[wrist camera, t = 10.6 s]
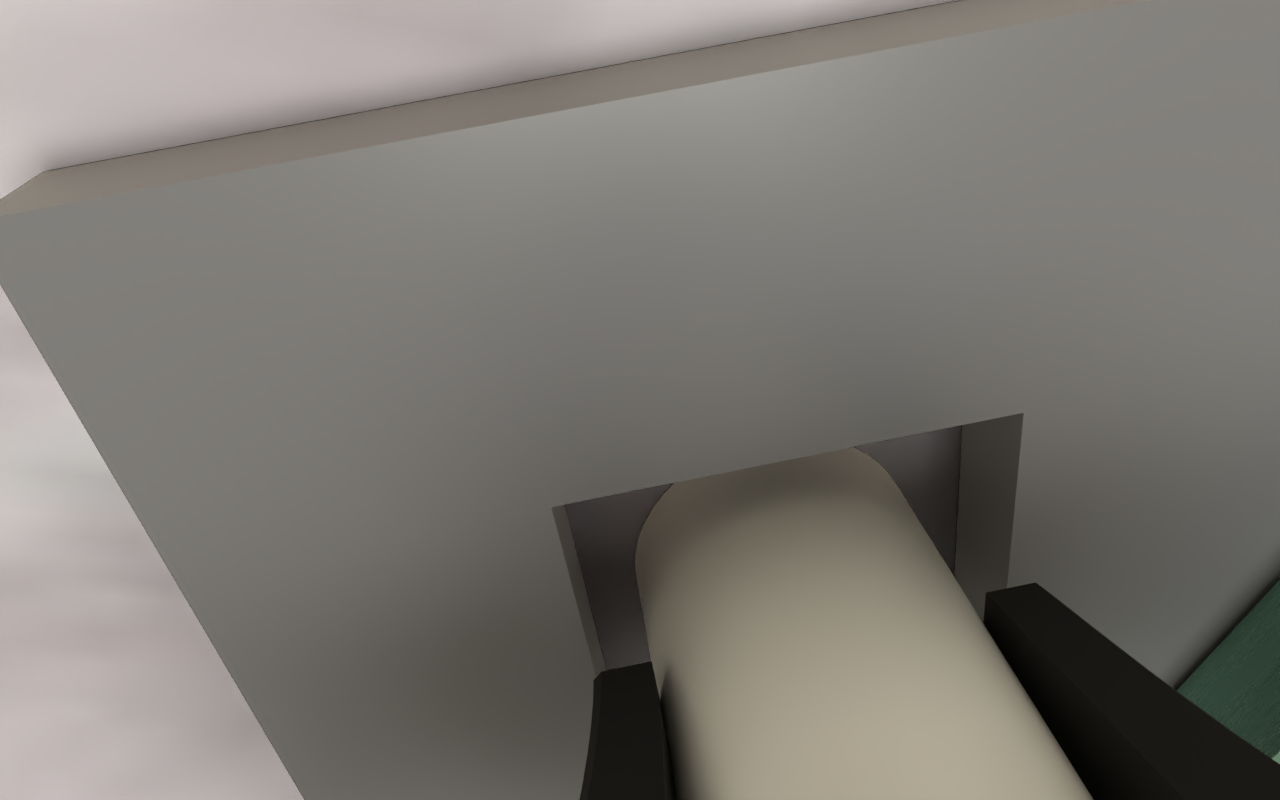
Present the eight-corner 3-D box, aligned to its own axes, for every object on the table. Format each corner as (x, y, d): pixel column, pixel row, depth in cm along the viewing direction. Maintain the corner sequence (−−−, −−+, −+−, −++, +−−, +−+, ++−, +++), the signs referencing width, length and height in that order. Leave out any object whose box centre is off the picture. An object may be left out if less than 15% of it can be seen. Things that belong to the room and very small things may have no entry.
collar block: (1161, 755, 17) (1215, 829, 15) (429, 910, 16) (422, 999, 15) (1378, -79, 9) (1516, -69, 8) (42, 171, 9) (-36, 223, 8)
